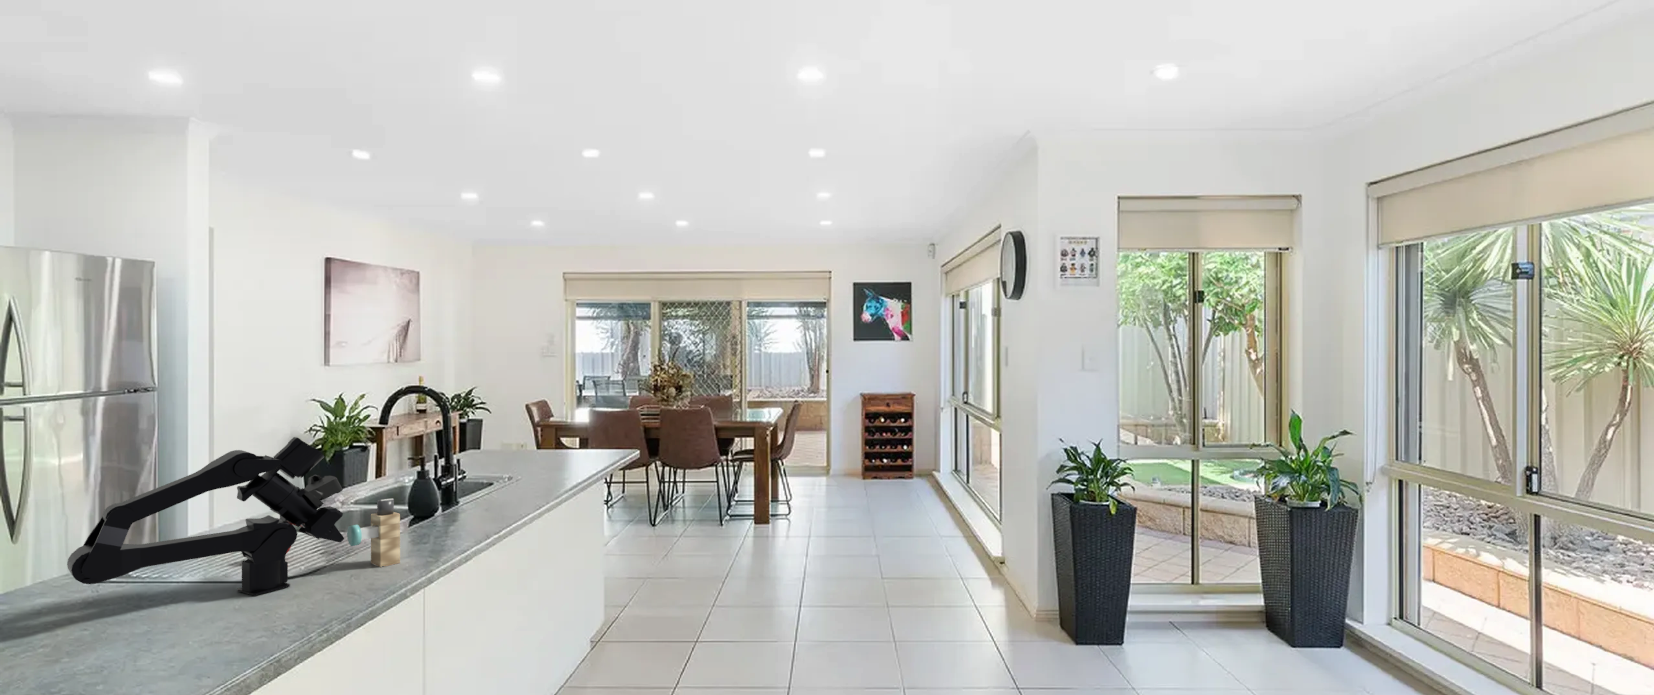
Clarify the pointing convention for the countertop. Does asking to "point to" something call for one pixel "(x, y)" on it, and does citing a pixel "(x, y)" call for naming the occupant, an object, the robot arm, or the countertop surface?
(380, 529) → the mount
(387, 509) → the dial
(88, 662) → the countertop surface
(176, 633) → the countertop surface
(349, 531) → the knob
